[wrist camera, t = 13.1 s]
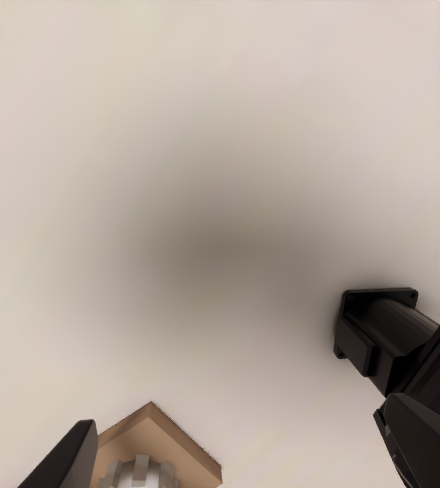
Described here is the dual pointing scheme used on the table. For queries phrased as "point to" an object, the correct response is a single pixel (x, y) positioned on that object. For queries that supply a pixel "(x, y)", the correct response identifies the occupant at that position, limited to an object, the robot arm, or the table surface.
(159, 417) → the gear board
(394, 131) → the table surface
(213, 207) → the table surface
